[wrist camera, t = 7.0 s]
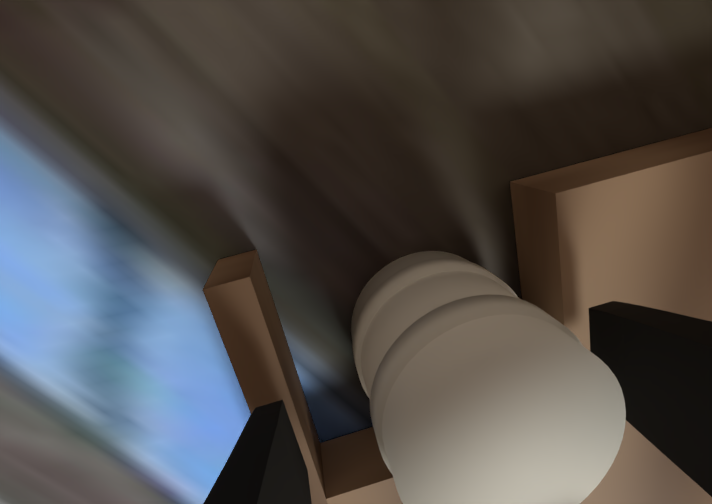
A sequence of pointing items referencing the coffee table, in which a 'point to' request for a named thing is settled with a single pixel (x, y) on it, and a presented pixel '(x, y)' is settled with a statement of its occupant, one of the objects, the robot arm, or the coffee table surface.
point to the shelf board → (538, 286)
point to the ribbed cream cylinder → (480, 389)
